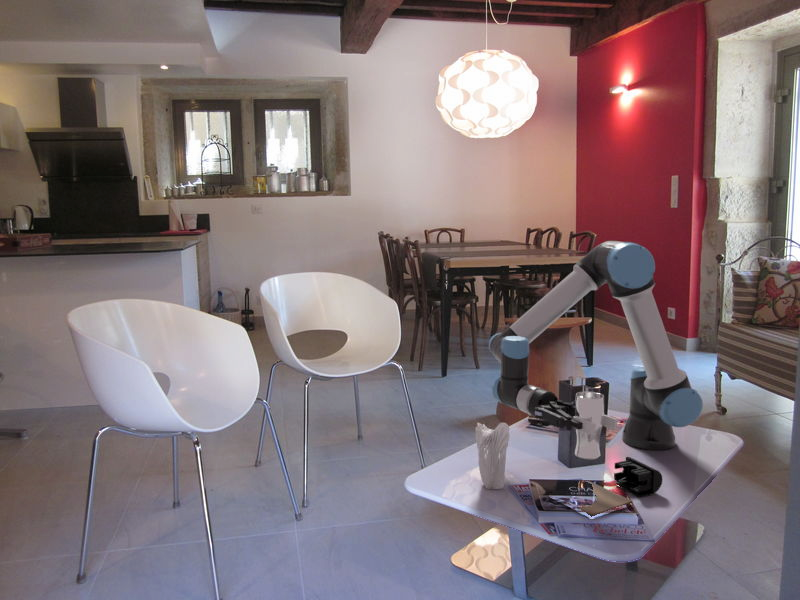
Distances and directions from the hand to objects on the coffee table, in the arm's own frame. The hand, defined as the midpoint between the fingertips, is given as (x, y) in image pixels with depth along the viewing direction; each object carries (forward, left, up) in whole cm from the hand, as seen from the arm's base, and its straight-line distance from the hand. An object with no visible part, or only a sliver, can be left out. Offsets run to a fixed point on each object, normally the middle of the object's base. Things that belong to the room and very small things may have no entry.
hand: (605, 427), depth 157 cm
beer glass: (0, -5, -9) cm, 10 cm away
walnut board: (0, -4, -20) cm, 20 cm away
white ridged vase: (+15, -23, -20) cm, 34 cm away
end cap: (-16, -3, -20) cm, 26 cm away
